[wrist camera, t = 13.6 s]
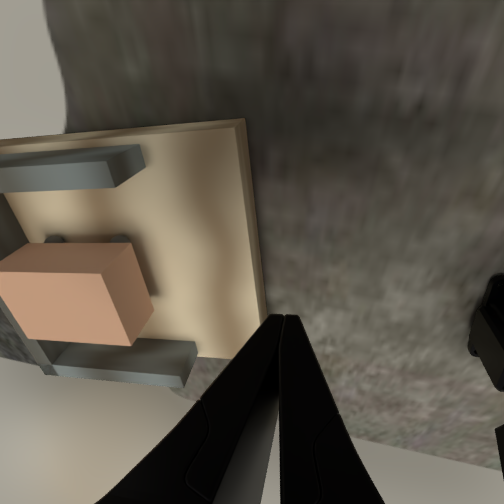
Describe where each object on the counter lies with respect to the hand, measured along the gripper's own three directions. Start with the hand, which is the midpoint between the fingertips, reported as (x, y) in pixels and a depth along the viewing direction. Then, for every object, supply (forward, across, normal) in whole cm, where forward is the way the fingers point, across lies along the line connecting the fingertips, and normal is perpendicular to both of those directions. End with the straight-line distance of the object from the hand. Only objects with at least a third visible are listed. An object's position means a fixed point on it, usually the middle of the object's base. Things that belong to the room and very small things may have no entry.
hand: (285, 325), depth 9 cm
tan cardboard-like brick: (+8, +13, +4) cm, 16 cm away
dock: (+11, +11, +4) cm, 16 cm away
